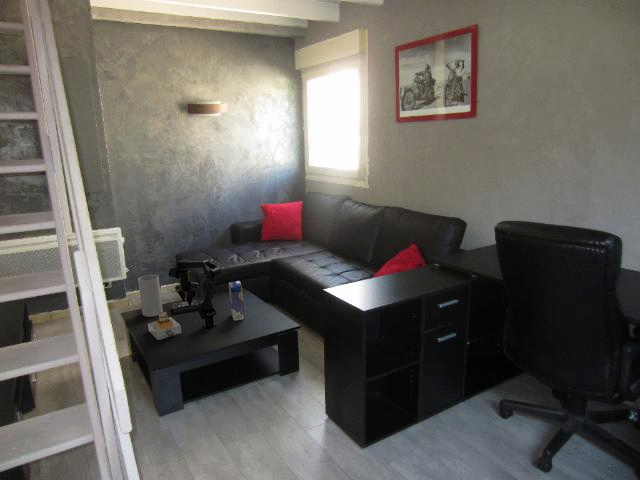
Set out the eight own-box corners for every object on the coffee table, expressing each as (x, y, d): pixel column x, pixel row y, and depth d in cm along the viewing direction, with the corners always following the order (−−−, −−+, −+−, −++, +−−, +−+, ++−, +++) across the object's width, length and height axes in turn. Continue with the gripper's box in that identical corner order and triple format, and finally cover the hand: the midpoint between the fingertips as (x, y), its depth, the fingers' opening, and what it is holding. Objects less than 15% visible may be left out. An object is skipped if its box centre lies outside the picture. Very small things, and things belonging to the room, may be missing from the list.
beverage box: (241, 312, 294) (239, 280, 288) (244, 319, 284) (242, 286, 278) (231, 314, 292) (228, 282, 286) (233, 320, 281) (230, 287, 276)
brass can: (169, 324, 267) (168, 313, 265) (161, 326, 264) (160, 315, 262) (166, 322, 270) (165, 311, 269) (158, 324, 267) (157, 313, 266)
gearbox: (183, 334, 264) (182, 323, 262) (159, 342, 256) (158, 330, 254) (171, 324, 279) (170, 314, 277) (148, 331, 270) (147, 320, 269)
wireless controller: (175, 315, 294) (172, 290, 289) (173, 308, 306) (170, 284, 302) (206, 310, 301) (203, 286, 297) (203, 303, 313) (200, 279, 309)
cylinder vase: (156, 317, 290) (151, 281, 284) (138, 316, 292) (133, 280, 286) (166, 310, 301) (162, 275, 295) (149, 309, 304) (145, 274, 298)
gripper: (203, 280, 274) (205, 304, 278) (190, 273, 288) (192, 296, 292) (185, 284, 267) (188, 308, 271) (173, 277, 281) (176, 300, 285)
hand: (186, 303), depth 280 cm, fingers open, 9 cm apart
